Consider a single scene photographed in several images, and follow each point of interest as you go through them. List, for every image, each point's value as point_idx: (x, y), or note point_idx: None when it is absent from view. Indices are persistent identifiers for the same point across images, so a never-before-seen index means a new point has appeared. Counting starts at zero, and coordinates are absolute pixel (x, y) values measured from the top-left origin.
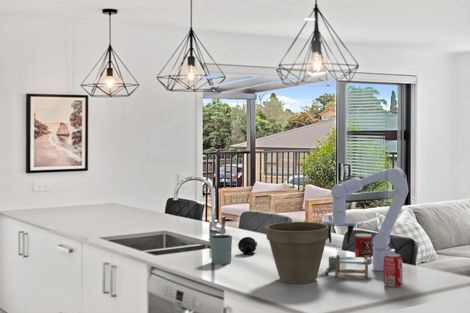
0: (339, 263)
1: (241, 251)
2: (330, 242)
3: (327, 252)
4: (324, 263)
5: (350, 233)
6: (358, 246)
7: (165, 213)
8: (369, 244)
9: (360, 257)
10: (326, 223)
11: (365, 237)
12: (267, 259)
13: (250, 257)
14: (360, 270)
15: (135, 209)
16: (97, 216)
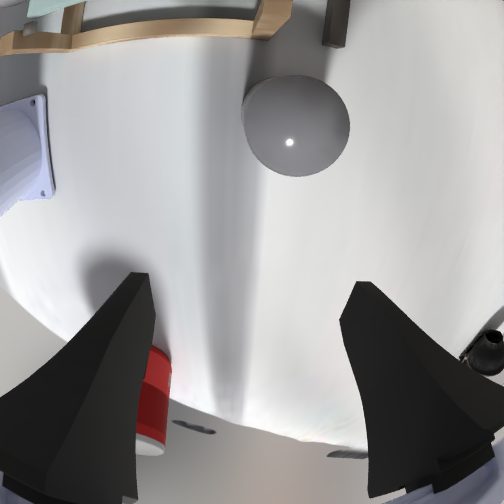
0: (247, 100)
1: (493, 338)
2: (364, 283)
3: (273, 404)
4: (321, 261)
5: (45, 372)
6: (145, 393)
7: None
8: None
9: (53, 4)
10: (499, 485)
11: None
12: (480, 296)
13: (495, 309)
14: (102, 29)
15: None
16: None
